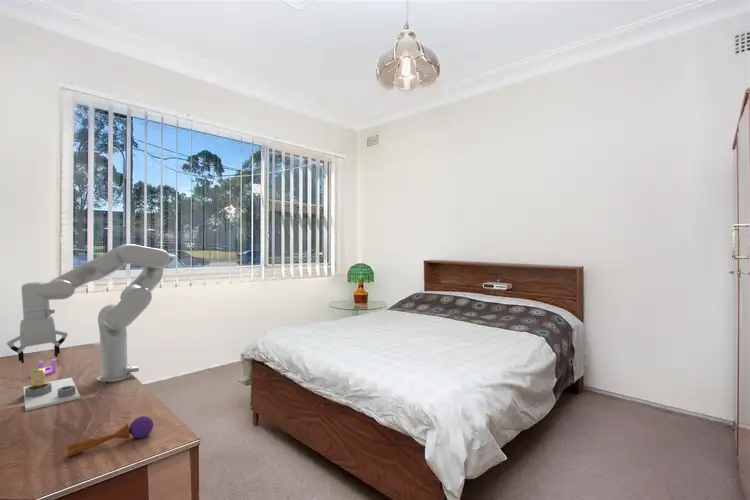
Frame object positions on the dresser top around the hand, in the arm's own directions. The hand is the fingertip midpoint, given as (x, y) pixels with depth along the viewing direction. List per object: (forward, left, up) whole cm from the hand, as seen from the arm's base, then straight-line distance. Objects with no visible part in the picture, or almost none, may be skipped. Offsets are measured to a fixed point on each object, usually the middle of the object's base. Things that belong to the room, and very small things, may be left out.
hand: (39, 359), depth 144 cm
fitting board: (-3, 0, -14) cm, 14 cm away
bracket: (+8, -32, -14) cm, 36 cm away
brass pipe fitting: (+1, 0, -13) cm, 13 cm away
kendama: (-35, +54, -14) cm, 66 cm away
